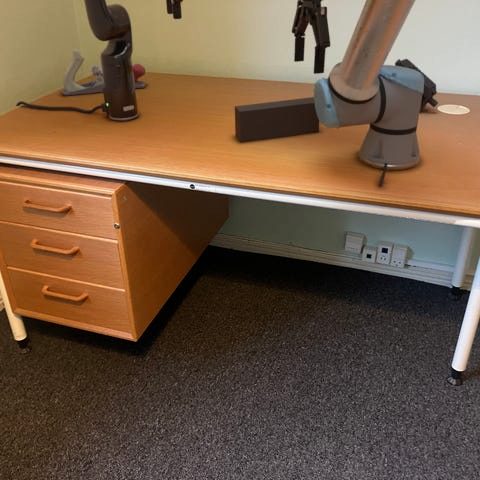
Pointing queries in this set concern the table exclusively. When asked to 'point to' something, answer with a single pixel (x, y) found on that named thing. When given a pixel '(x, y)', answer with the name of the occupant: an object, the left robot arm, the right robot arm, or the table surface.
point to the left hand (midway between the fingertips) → (174, 16)
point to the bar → (275, 119)
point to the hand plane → (95, 85)
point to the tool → (428, 84)
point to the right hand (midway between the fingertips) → (308, 67)
